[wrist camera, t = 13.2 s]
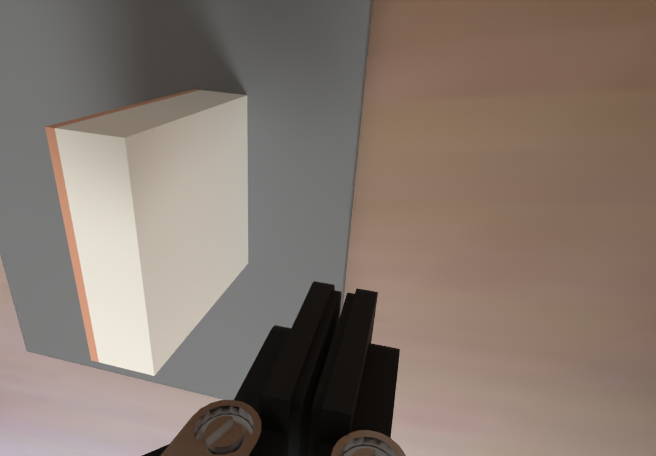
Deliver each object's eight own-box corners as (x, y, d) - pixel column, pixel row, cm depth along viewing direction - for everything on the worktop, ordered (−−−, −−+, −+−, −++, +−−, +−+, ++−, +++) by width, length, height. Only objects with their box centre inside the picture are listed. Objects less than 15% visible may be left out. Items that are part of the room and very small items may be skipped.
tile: (247, 95, 19) (125, 137, 12) (248, 263, 22) (154, 375, 15) (194, 89, 19) (45, 126, 12) (203, 254, 22) (91, 360, 15)
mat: (388, -160, 15) (386, -167, 14) (331, 417, 26) (329, 425, 25) (-100, -160, 18) (-116, -165, 18) (34, 345, 29) (27, 351, 29)
